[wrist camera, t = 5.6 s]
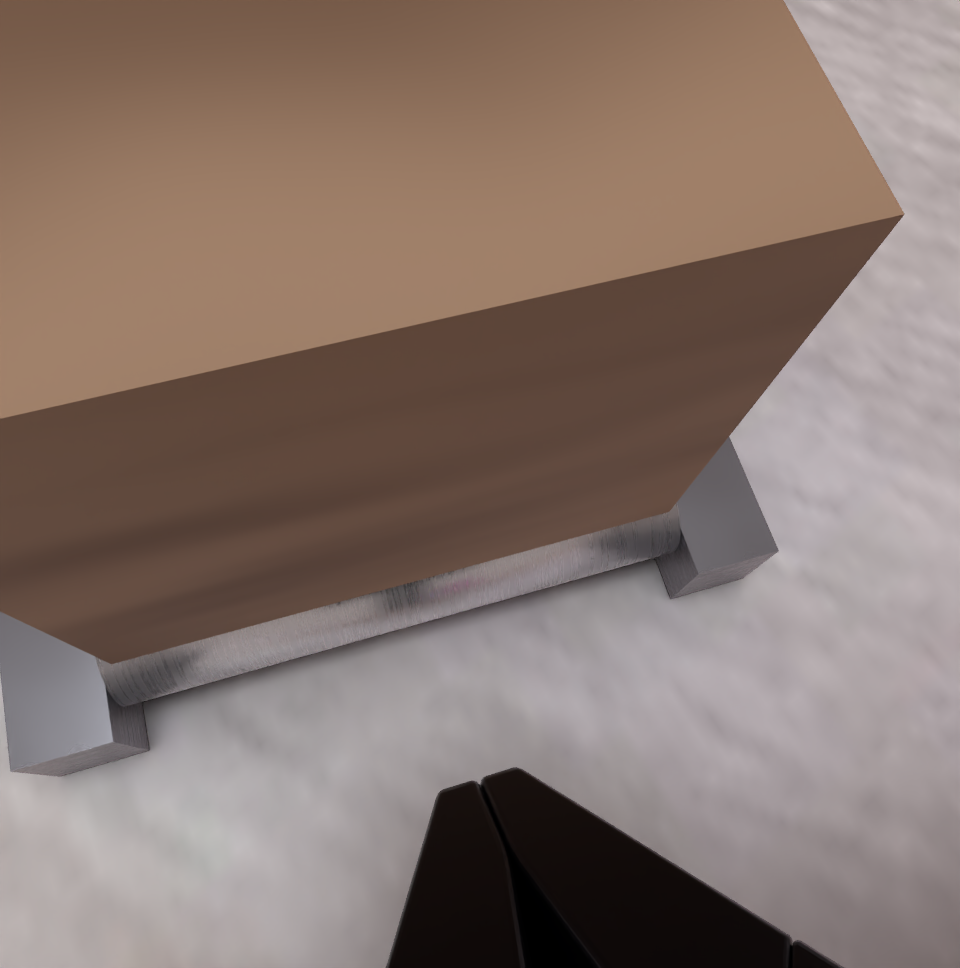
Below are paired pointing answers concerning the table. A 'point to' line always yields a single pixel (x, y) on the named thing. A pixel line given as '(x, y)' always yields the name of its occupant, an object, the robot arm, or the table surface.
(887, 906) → the table surface
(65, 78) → the brown cardboard box
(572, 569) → the roller bed
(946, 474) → the table surface
